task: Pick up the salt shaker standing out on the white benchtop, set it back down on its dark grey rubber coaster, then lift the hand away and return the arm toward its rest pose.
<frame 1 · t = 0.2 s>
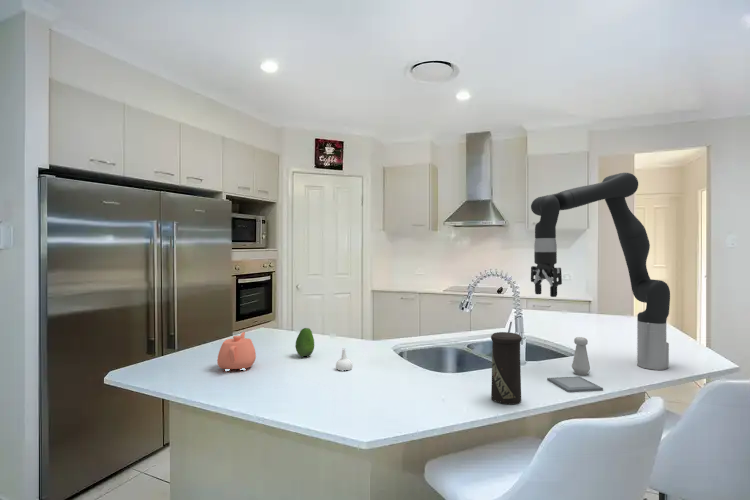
hand: (545, 295, 151), 28 cm above the countertop, fingers open, 8 cm apart
garlic bulb: (344, 370, 155), on the countertop
teapot: (237, 368, 158), on the countertop
salt shaker: (580, 374, 149), on the countertop
coaster: (574, 385, 137), on the countertop
container: (506, 400, 124), on the countertop
fruit: (305, 357, 173), on the countertop
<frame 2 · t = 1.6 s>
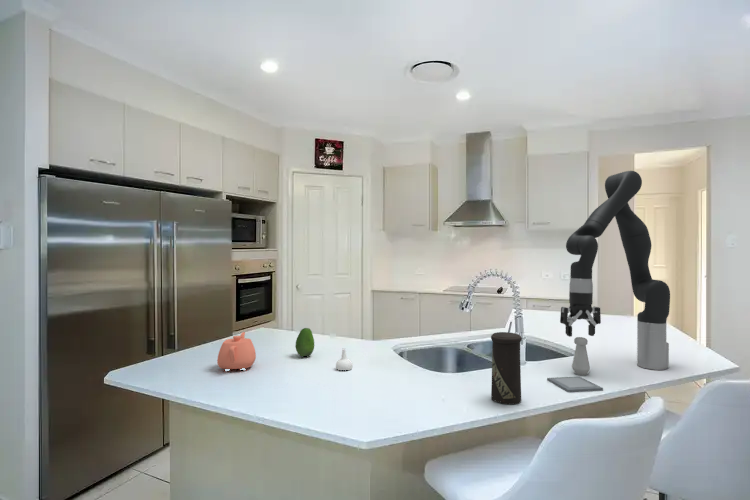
hand: (580, 335, 149), 14 cm above the countertop, fingers open, 8 cm apart
nothing on the countertop moved.
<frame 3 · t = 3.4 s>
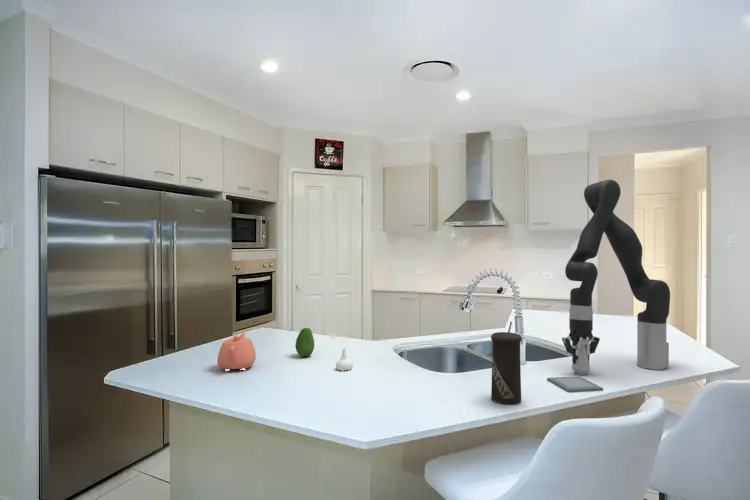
hand: (580, 365, 149), 3 cm above the countertop, fingers closed on salt shaker, 3 cm apart
salt shaker: (580, 374, 149), on the countertop, touching gripper
everything else where it was.
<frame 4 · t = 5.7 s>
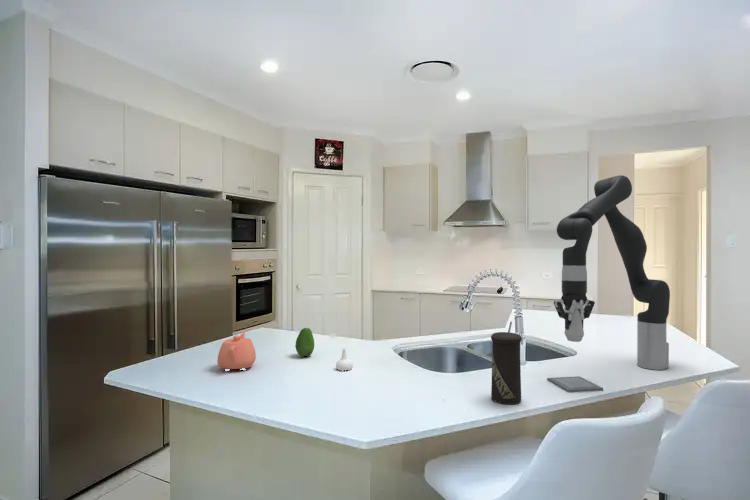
hand: (574, 330, 137), 18 cm above the countertop, fingers closed on salt shaker, 3 cm apart
salt shaker: (574, 341, 137), point 15 cm above the countertop, touching gripper
everything else where it was.
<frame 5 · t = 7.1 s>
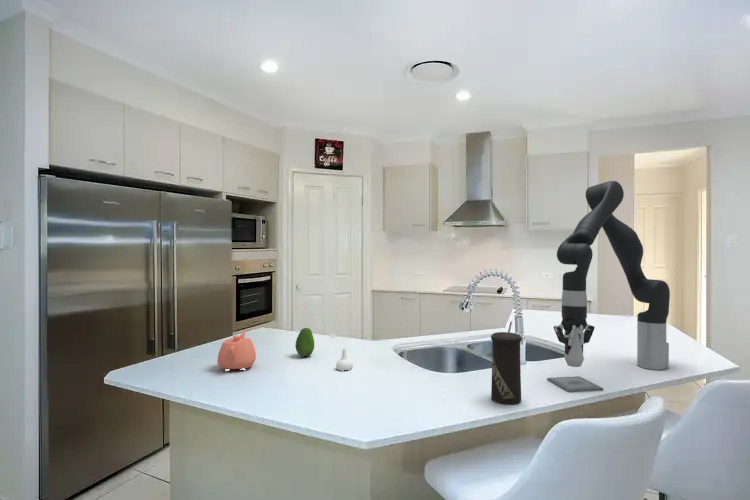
hand: (573, 355, 137), 10 cm above the countertop, fingers closed on salt shaker, 3 cm apart
salt shaker: (573, 365, 137), point 6 cm above the countertop, touching gripper
everything else where it was.
when the fingers open (5 cm above the countertop, at t = 8.3 s): salt shaker drops 1 cm, resting on coaster.
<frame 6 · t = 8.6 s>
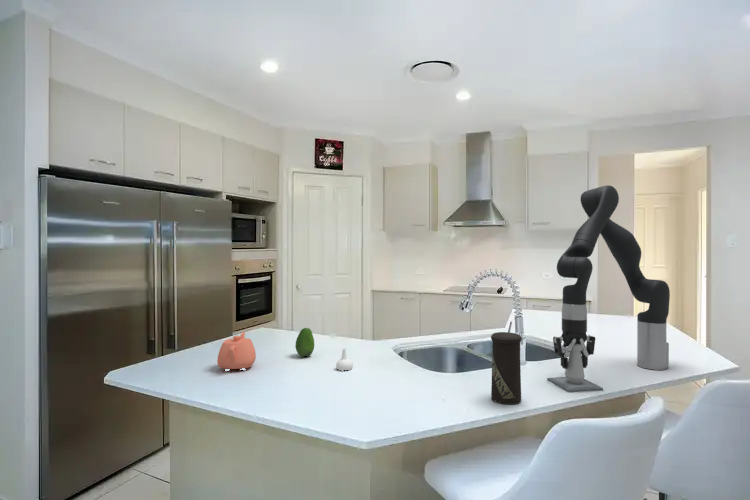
hand: (574, 367, 137), 6 cm above the countertop, fingers open, 6 cm apart
salt shaker: (574, 382, 137), point 1 cm above the countertop, touching coaster
everything else where it was.
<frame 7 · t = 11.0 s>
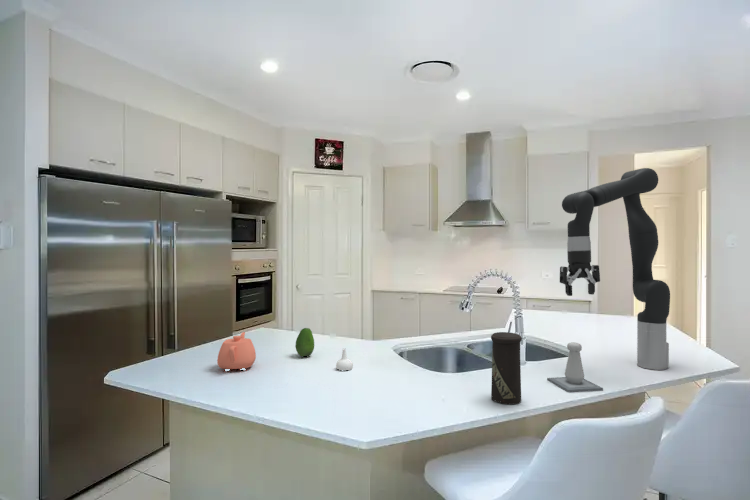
hand: (580, 295, 147), 29 cm above the countertop, fingers open, 8 cm apart
nothing on the countertop moved.
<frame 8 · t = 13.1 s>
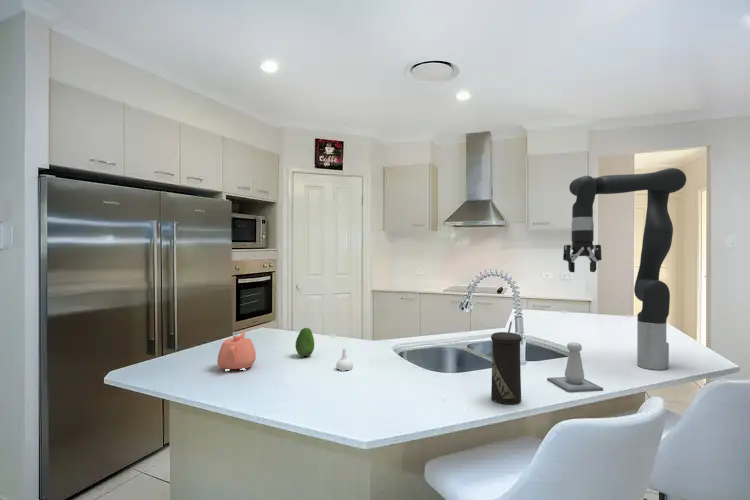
hand: (582, 272, 158), 36 cm above the countertop, fingers open, 8 cm apart
nothing on the countertop moved.
at the end: salt shaker inside the target area on the coaster (0.2 cm from its centre), point 0.7 cm above the coaster's base; salt shaker tilted 0°; the gripper is holding nothing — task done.
